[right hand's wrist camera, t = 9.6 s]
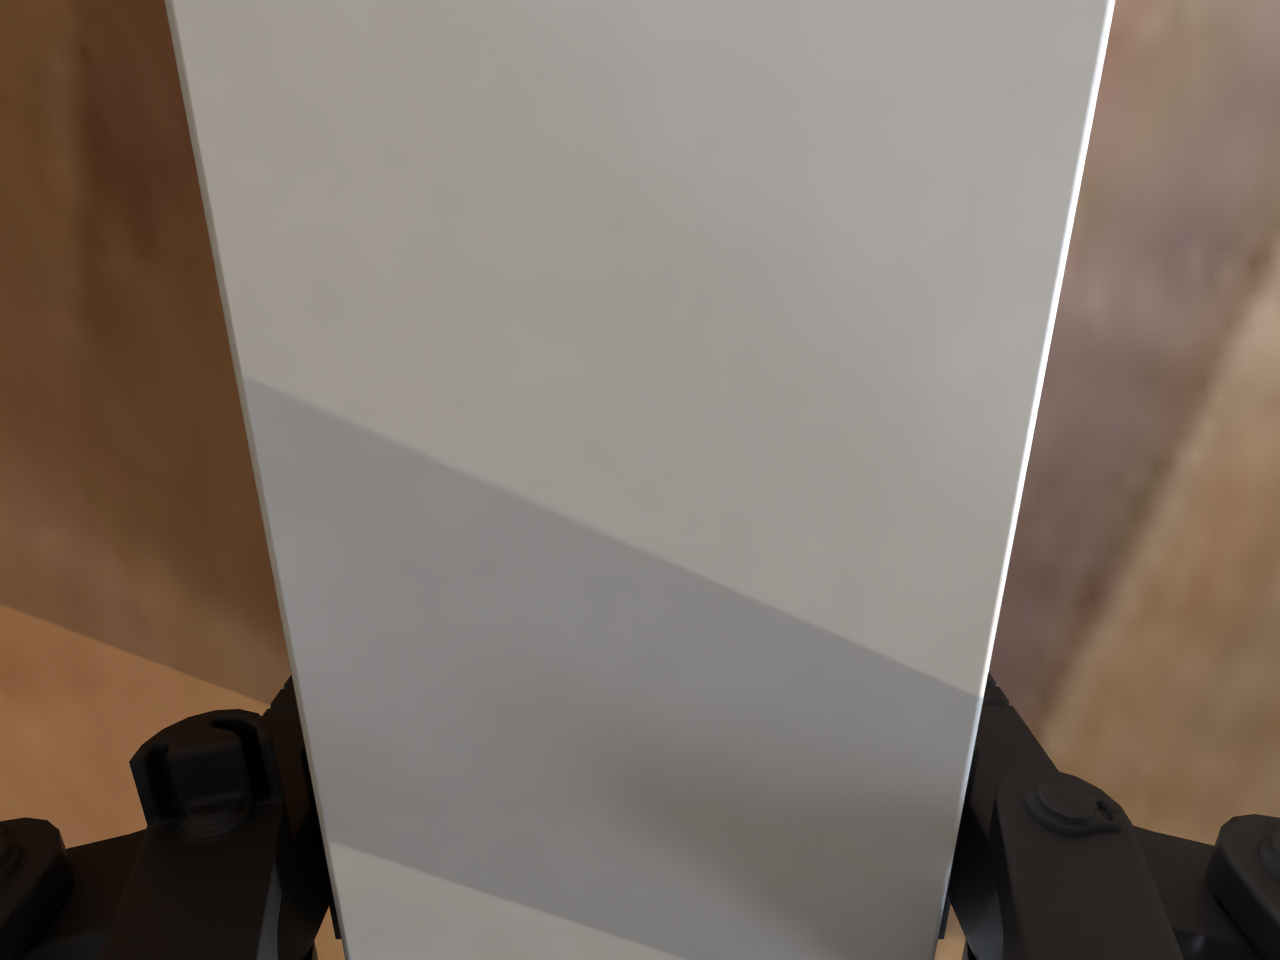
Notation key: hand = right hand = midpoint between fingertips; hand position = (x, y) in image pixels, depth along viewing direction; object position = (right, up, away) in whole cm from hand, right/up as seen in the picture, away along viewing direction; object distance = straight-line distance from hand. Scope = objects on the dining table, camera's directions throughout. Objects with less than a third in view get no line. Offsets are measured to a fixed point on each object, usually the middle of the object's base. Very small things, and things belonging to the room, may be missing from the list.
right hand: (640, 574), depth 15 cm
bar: (0, +20, -7) cm, 21 cm away
